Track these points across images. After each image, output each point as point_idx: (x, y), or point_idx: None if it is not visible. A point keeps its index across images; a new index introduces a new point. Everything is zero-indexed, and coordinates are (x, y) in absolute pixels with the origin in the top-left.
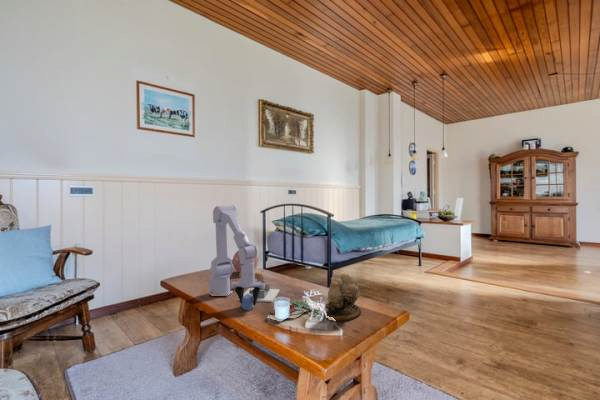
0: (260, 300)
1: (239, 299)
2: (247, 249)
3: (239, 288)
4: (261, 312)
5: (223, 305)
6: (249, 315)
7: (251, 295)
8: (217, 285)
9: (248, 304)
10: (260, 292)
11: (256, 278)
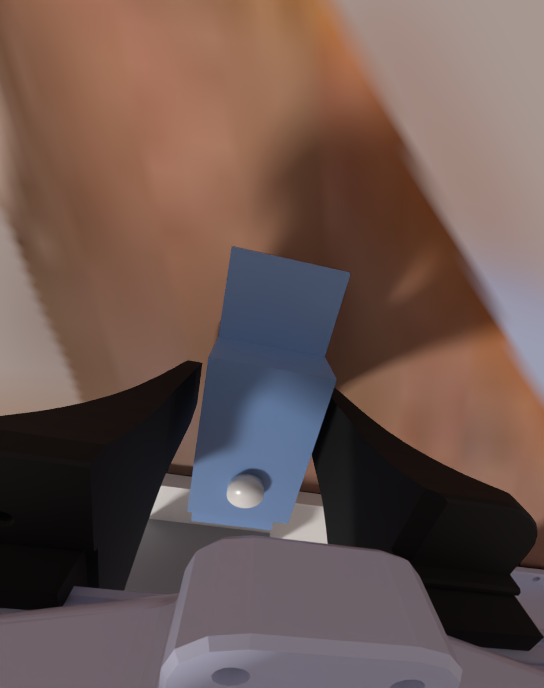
0: (171, 484)
1: (363, 414)
2: None
3: (445, 585)
4: (106, 244)
5: (467, 433)
6: (220, 169)
7: (214, 473)
8: None
9: (233, 270)
10: (162, 575)
11: None
